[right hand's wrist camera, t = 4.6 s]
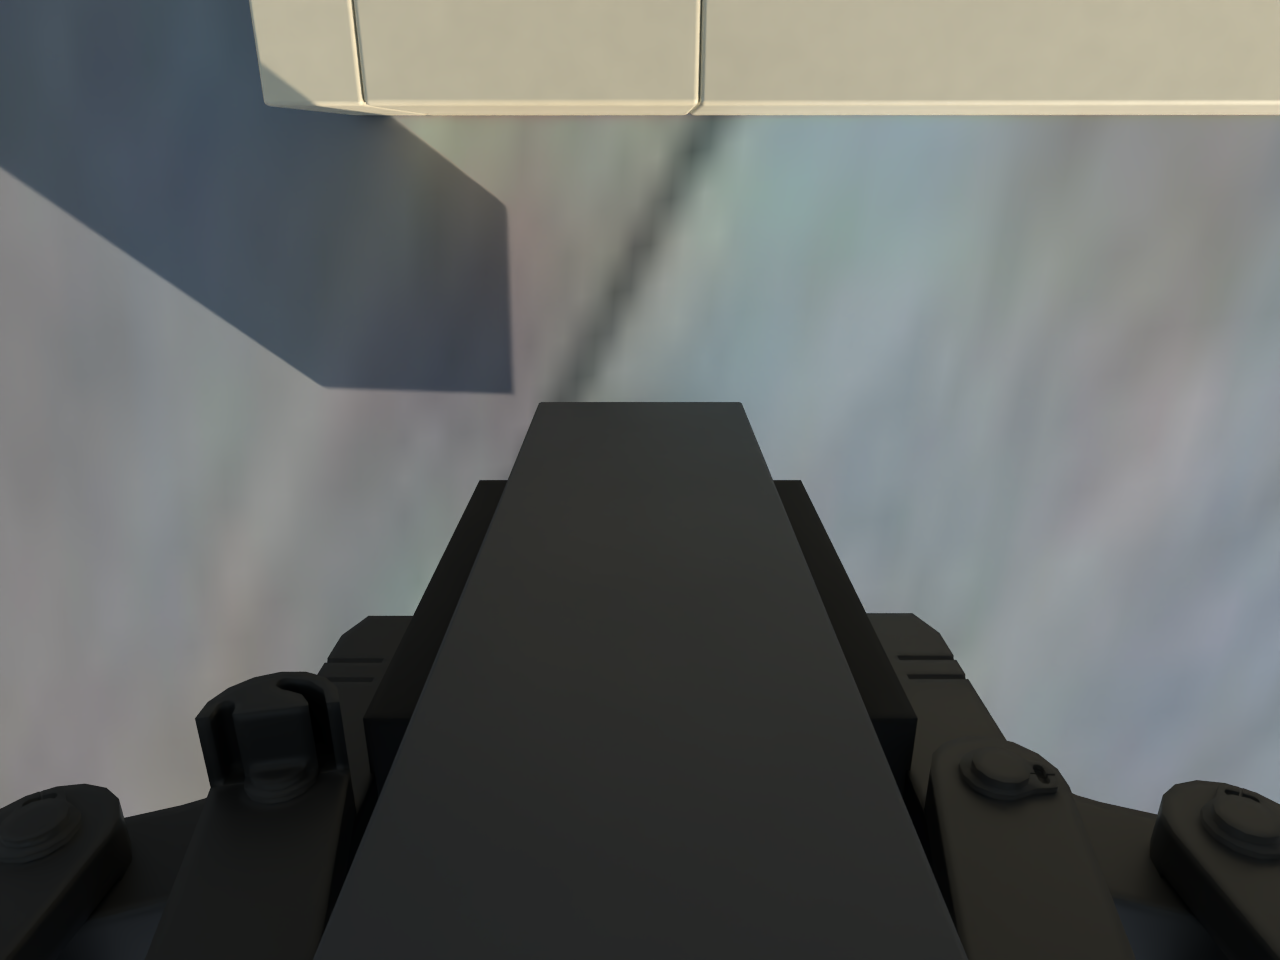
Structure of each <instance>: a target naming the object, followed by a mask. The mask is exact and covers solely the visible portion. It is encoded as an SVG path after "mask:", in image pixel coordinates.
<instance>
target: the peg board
mask: <svg viewBox="0 0 1280 960" xmlns="http://www.w3.org/2000/svg"><path fill="white" fill-rule="evenodd" d="M249 5H250V11H251V18H252V25H253V31H254V38H255V45H256V51H257V58H258V65H259V72H260V78H261V85H262V92H263V98H264V102H265V104H266V105H268V106H272V107H281V108H291V109H300V110H309V111H319V112H328V113H338V114H347V115H426V114H428V115H685V114H688V113H689V112H690V114H692V115H1280V0H249Z"/></svg>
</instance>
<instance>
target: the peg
mask: <svg viewBox="0 0 1280 960" xmlns="http://www.w3.org/2000/svg"><path fill="white" fill-rule="evenodd" d="M313 960H968V958H967V955H966V953H965V950H964V948H963V945H962V943H961V941H960V938H959V936H958V933H957V931H956V928H955V926H954V923H953V921H952V918H951V916H950V914H949V911H948V909H947V906H946V904H945V901H944V899H943V896H942V894H941V891H940V889H939V887H938V884H937V882H936V879H935V877H934V874H933V872H932V869H931V867H930V865H929V862H928V860H927V857H926V855H925V852H924V850H923V847H922V845H921V842H920V840H919V838H918V835H917V833H916V830H915V828H914V825H913V823H912V820H911V818H910V815H909V813H908V811H907V808H906V806H905V803H904V801H903V798H902V796H901V793H900V791H899V788H898V786H897V784H896V781H895V779H894V776H893V774H892V771H891V769H890V766H889V764H888V761H887V759H886V757H885V754H884V752H883V749H882V747H881V744H880V742H879V739H878V737H877V734H876V732H875V730H874V727H873V725H872V722H871V720H870V717H869V715H868V712H867V710H866V707H865V705H864V703H863V700H862V698H861V695H860V693H859V690H858V688H857V685H856V683H855V680H854V678H853V676H852V673H851V671H850V668H849V666H848V663H847V661H846V658H845V656H844V653H843V651H842V649H841V646H840V644H839V641H838V639H837V636H836V634H835V631H834V629H833V626H832V624H831V622H830V619H829V617H828V614H827V612H826V609H825V607H824V604H823V602H822V599H821V597H820V595H819V592H818V590H817V587H816V585H815V582H814V580H813V577H812V575H811V572H810V570H809V568H808V565H807V563H806V560H805V558H804V555H803V553H802V550H801V548H800V545H799V543H798V541H797V538H796V536H795V533H794V531H793V528H792V526H791V523H790V521H789V518H788V516H787V514H786V511H785V509H784V506H783V504H782V501H781V499H780V496H779V494H778V491H777V489H776V487H775V484H774V482H773V479H772V477H771V474H770V472H769V469H768V467H767V464H766V462H765V460H764V457H763V455H762V452H761V450H760V447H759V445H758V442H757V440H756V437H755V435H754V433H753V430H752V428H751V425H750V423H749V420H748V418H747V415H746V413H745V410H744V408H743V406H742V403H740V402H541V403H539V405H538V407H537V410H536V412H535V414H534V417H533V419H532V422H531V424H530V427H529V429H528V432H527V434H526V437H525V439H524V442H523V444H522V446H521V449H520V451H519V454H518V456H517V459H516V461H515V464H514V466H513V469H512V471H511V474H510V476H509V478H508V481H507V483H506V486H505V488H504V491H503V493H502V496H501V498H500V501H499V503H498V506H497V508H496V510H495V513H494V515H493V518H492V520H491V523H490V525H489V528H488V530H487V533H486V535H485V538H484V540H483V542H482V545H481V547H480V550H479V552H478V555H477V557H476V560H475V562H474V565H473V567H472V569H471V572H470V574H469V577H468V579H467V582H466V584H465V587H464V589H463V592H462V594H461V597H460V599H459V601H458V604H457V606H456V609H455V611H454V614H453V616H452V619H451V621H450V624H449V626H448V629H447V631H446V633H445V636H444V638H443V641H442V643H441V646H440V648H439V651H438V653H437V656H436V658H435V661H434V663H433V665H432V668H431V670H430V673H429V675H428V678H427V680H426V683H425V685H424V688H423V690H422V693H421V695H420V697H419V700H418V702H417V705H416V707H415V710H414V712H413V715H412V717H411V720H410V722H409V725H408V727H407V729H406V732H405V734H404V737H403V739H402V742H401V744H400V747H399V749H398V752H397V754H396V757H395V759H394V761H393V764H392V766H391V769H390V771H389V774H388V776H387V779H386V781H385V784H384V786H383V788H382V791H381V793H380V796H379V798H378V801H377V803H376V806H375V808H374V811H373V813H372V816H371V818H370V820H369V823H368V825H367V828H366V830H365V833H364V835H363V838H362V840H361V843H360V845H359V848H358V850H357V852H356V855H355V857H354V860H353V862H352V865H351V867H350V870H349V872H348V875H347V877H346V880H345V882H344V884H343V887H342V889H341V892H340V894H339V897H338V899H337V902H336V904H335V907H334V909H333V912H332V914H331V916H330V919H329V921H328V924H327V926H326V929H325V931H324V934H323V936H322V939H321V941H320V944H319V946H318V948H317V951H316V953H315V956H314V958H313Z"/></svg>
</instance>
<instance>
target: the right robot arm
mask: <svg viewBox="0 0 1280 960" xmlns="http://www.w3.org/2000/svg"><path fill="white" fill-rule="evenodd" d="M507 481H508V480H480V481H479V483H478V485H477V487H476V489H475V491H474V493H473V495H472V497H471V499H470V501H469V503H468V505H467V507H466V509H465V511H464V513H463V515H462V517H461V519H460V521H459V524H458V526H457V528H456V530H455V532H454V534H453V536H452V538H451V540H450V542H449V544H448V546H447V548H446V550H445V552H444V554H443V556H442V558H441V560H440V562H439V564H438V566H437V568H436V570H435V572H434V574H433V576H432V578H431V581H430V583H429V585H428V587H427V589H426V591H425V593H424V595H423V597H422V599H421V601H420V603H419V605H418V607H417V609H416V611H415V613H414V615H413V616H368V617H366V618H365V619H364V620H362V621H361V622H360V623H358V624H357V625H355V626H354V627H353V628H351V629H350V630H349V631H347V632H346V633H344V634H343V635H342V636H341V637H340V639H339V641H338V642H337V644H336V645H335V647H334V649H333V650H332V652H331V654H330V655H329V657H328V661H327V663H324V665H323V666H322V668H321V670H320V671H319V673H318V675H316V674H312V673H308V672H278V673H273V674H269V675H264V676H259V677H254V678H252V679H249V680H247V681H244V682H242V683H239V684H237V685H235V686H232V687H230V688H228V689H226V690H225V691H223V692H222V693H220V694H219V695H218V696H216V697H215V698H213V699H212V700H210V701H209V702H207V704H206V705H205V706H204V708H203V709H202V710H201V711H200V713H199V714H198V715H197V717H196V718H195V721H196V725H197V729H198V734H199V738H200V743H201V747H202V751H203V756H204V760H205V764H206V769H207V773H208V778H209V782H210V786H211V788H210V791H209V794H208V796H207V798H205V799H201V800H198V801H195V802H191V803H188V804H184V805H181V806H176V807H172V808H167V809H163V810H158V811H153V812H149V813H144V814H140V815H135V816H131V817H126V818H124V816H123V812H122V809H121V805H120V802H119V799H118V798H117V797H116V796H115V795H114V794H113V793H112V792H111V791H109V790H108V789H107V788H104V787H99V786H94V785H89V784H77V785H68V786H58V787H54V788H51V789H47V790H43V791H41V792H37V793H34V794H31V795H28V796H25V797H23V798H21V799H19V800H17V801H15V802H13V803H11V804H9V805H7V806H5V807H3V808H1V809H0V960H313V958H314V956H315V953H316V951H317V948H318V946H319V944H320V941H321V939H322V936H323V934H324V931H325V929H326V926H327V924H328V921H329V919H330V916H331V914H332V912H333V909H334V907H335V904H336V902H337V899H338V897H339V894H340V892H341V889H342V887H343V884H344V882H345V880H346V877H347V875H348V872H349V870H350V867H351V865H352V862H353V860H354V857H355V855H356V852H357V850H358V848H359V845H360V843H361V840H362V838H363V835H364V833H365V830H366V828H367V825H368V823H369V820H370V818H371V816H372V813H373V811H374V808H375V806H376V803H377V801H378V798H379V796H380V793H381V791H382V788H383V786H384V784H385V781H386V779H387V776H388V774H389V771H390V769H391V766H392V764H393V761H394V759H395V757H396V754H397V752H398V749H399V747H400V744H401V742H402V739H403V737H404V734H405V732H406V729H407V727H408V725H409V722H410V720H411V717H412V715H413V712H414V710H415V707H416V705H417V702H418V700H419V697H420V695H421V693H422V690H423V688H424V685H425V683H426V680H427V678H428V675H429V673H430V670H431V668H432V665H433V663H434V661H435V658H436V656H437V653H438V651H439V648H440V646H441V643H442V641H443V638H444V636H445V633H446V631H447V629H448V626H449V624H450V621H451V619H452V616H453V614H454V611H455V609H456V606H457V604H458V601H459V599H460V597H461V594H462V592H463V589H464V587H465V584H466V582H467V579H468V577H469V574H470V572H471V569H472V567H473V565H474V562H475V560H476V557H477V555H478V552H479V550H480V547H481V545H482V542H483V540H484V538H485V535H486V533H487V530H488V528H489V525H490V523H491V520H492V518H493V515H494V513H495V510H496V508H497V506H498V503H499V501H500V498H501V496H502V493H503V491H504V488H505V486H506V483H507ZM773 482H774V484H775V487H776V489H777V491H778V494H779V496H780V499H781V501H782V504H783V506H784V509H785V511H786V514H787V516H788V518H789V521H790V523H791V526H792V528H793V531H794V533H795V536H796V538H797V541H798V543H799V545H800V548H801V550H802V553H803V555H804V558H805V560H806V563H807V565H808V568H809V570H810V572H811V575H812V577H813V580H814V582H815V585H816V587H817V590H818V592H819V595H820V597H821V599H822V602H823V604H824V607H825V609H826V612H827V614H828V617H829V619H830V622H831V624H832V626H833V629H834V631H835V634H836V636H837V639H838V641H839V644H840V646H841V649H842V651H843V653H844V656H845V658H846V661H847V663H848V666H849V668H850V671H851V673H852V676H853V678H854V680H855V683H856V685H857V688H858V690H859V693H860V695H861V698H862V700H863V703H864V705H865V707H866V710H867V712H868V715H869V717H870V720H871V722H872V725H873V727H874V730H875V732H876V734H877V737H878V739H879V742H880V744H881V747H882V749H883V752H884V754H885V757H886V759H887V761H888V764H889V766H890V769H891V771H892V774H893V776H894V779H895V781H896V784H897V786H898V788H899V791H900V793H901V796H902V798H903V801H904V803H905V806H906V808H907V811H908V813H909V815H910V818H911V820H912V823H913V825H914V828H915V830H916V833H917V835H918V838H919V840H920V842H921V845H922V847H923V850H924V852H925V855H926V857H927V860H928V862H929V865H930V867H931V869H932V872H933V874H934V877H935V879H936V882H937V884H938V887H939V889H940V891H941V894H942V896H943V899H944V901H945V904H946V906H947V909H948V911H949V914H950V916H951V918H952V921H953V923H954V926H955V928H956V931H957V933H958V936H959V938H960V941H961V943H962V945H963V948H964V950H965V953H966V955H967V958H968V960H1280V804H1278V803H1276V802H1274V801H1272V800H1270V799H1268V798H1266V797H1264V796H1262V795H1260V794H1258V793H1256V792H1252V791H1249V790H1247V789H1244V788H1243V789H1242V788H1239V787H1237V786H1233V785H1229V784H1226V783H1219V782H1209V781H1199V780H1196V781H1190V782H1185V783H1180V784H1175V785H1174V786H1173V787H1172V788H1171V789H1169V790H1168V791H1167V792H1166V793H1165V794H1164V795H1163V797H1162V800H1161V804H1160V808H1159V811H1158V815H1157V814H1152V813H1147V812H1143V811H1138V810H1134V809H1129V808H1125V807H1120V806H1116V805H1111V804H1107V803H1102V802H1098V801H1095V800H1091V799H1088V798H1084V797H1081V796H1077V795H1075V794H1073V793H1072V792H1071V790H1070V787H1069V785H1068V784H1067V782H1066V781H1065V779H1064V778H1063V776H1062V775H1061V774H1060V772H1059V771H1058V769H1057V768H1055V767H1054V766H1053V765H1052V764H1050V763H1049V762H1048V761H1047V760H1045V759H1044V758H1043V757H1041V756H1040V755H1039V754H1037V753H1035V752H1033V751H1031V750H1029V749H1027V748H1024V747H1022V746H1020V745H1018V744H1016V743H1014V742H1010V741H1006V739H1005V737H1004V736H1003V734H1002V733H1001V731H1000V729H999V728H998V726H997V725H996V723H995V721H994V720H993V718H992V717H991V715H990V713H989V712H988V710H987V708H986V707H985V705H984V704H983V702H982V700H981V699H980V697H979V696H978V694H977V692H976V691H975V689H974V688H973V686H972V684H971V683H970V681H969V680H968V679H965V673H964V672H963V670H962V668H961V667H960V665H959V664H958V662H957V660H954V658H953V654H952V652H951V651H950V649H949V648H948V646H947V644H946V643H945V641H944V640H943V638H942V636H941V635H940V633H939V632H937V631H936V630H935V629H933V628H932V627H930V626H929V625H928V624H926V623H925V622H924V621H922V620H921V619H919V618H918V617H917V616H915V615H914V614H913V613H866V612H865V610H864V608H863V606H862V604H861V602H860V600H859V598H858V596H857V594H856V592H855V590H854V587H853V585H852V583H851V581H850V579H849V577H848V575H847V573H846V571H845V569H844V567H843V565H842V563H841V561H840V559H839V557H838V555H837V553H836V551H835V549H834V547H833V545H832V543H831V541H830V539H829V537H828V535H827V533H826V531H825V528H824V526H823V524H822V522H821V520H820V518H819V516H818V514H817V512H816V510H815V508H814V506H813V504H812V502H811V500H810V498H809V496H808V494H807V492H806V490H805V488H804V486H803V484H802V482H801V480H773Z"/></svg>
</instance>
